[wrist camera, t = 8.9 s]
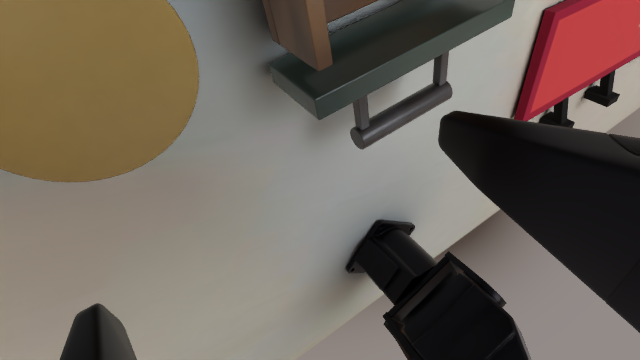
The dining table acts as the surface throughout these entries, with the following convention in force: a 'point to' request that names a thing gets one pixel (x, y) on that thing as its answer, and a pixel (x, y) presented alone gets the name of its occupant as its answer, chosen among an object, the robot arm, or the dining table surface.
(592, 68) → the red board with handle
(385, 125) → the drawer
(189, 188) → the dining table surface
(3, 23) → the tin
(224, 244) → the dining table surface
